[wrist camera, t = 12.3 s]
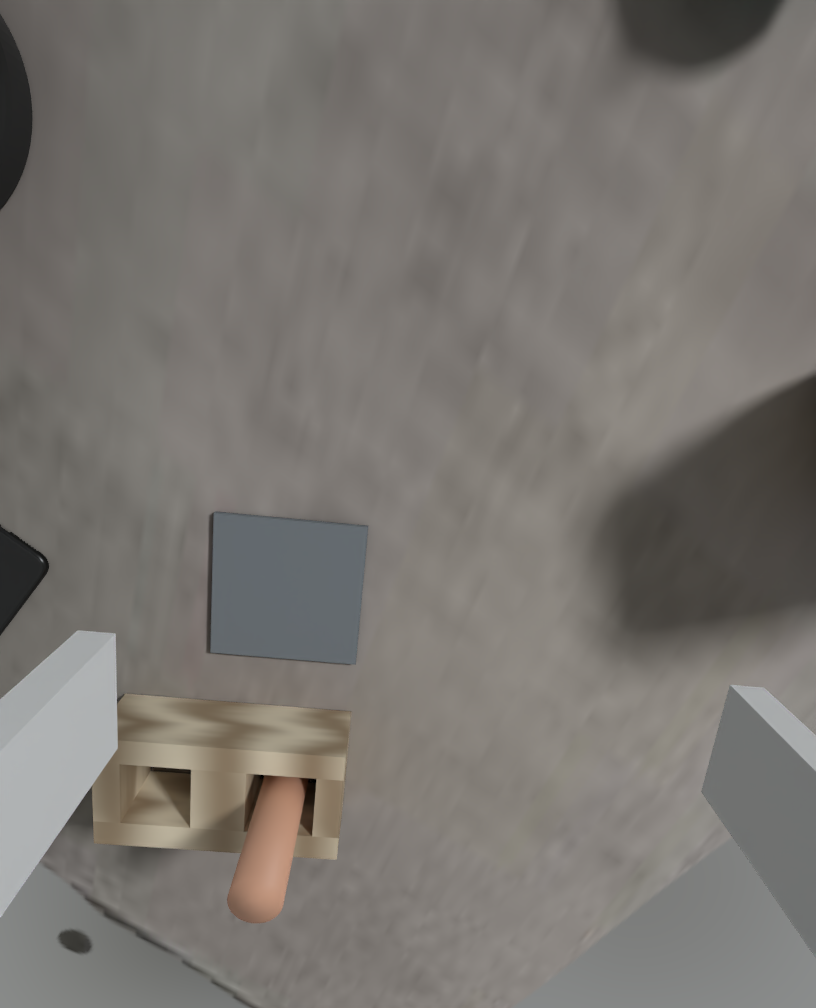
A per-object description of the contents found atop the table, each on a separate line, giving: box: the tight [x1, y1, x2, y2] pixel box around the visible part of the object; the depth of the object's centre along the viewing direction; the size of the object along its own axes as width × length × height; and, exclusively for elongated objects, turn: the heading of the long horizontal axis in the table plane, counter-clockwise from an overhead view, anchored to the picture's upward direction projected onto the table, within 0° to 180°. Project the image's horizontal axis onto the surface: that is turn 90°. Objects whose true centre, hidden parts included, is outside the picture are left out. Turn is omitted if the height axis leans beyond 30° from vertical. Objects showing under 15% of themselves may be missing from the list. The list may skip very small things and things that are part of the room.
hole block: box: [92, 694, 351, 860], centre depth 41 cm, size 16×8×5 cm, turn 84°
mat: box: [210, 512, 368, 665], centre depth 40 cm, size 10×10×1 cm
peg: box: [227, 775, 309, 923], centre depth 38 cm, size 3×3×12 cm
